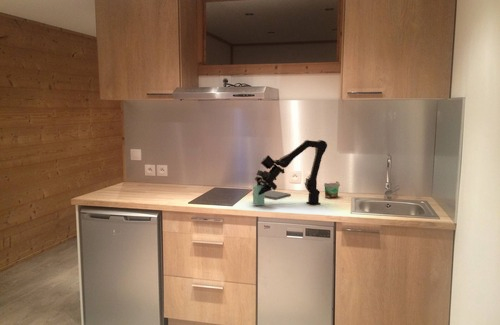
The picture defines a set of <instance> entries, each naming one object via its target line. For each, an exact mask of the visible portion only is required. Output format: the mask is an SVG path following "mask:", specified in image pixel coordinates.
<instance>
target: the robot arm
mask: <svg viewBox="0 0 500 325" xmlns="http://www.w3.org/2000/svg"><path fill="white" fill-rule="evenodd" d="M310 147H311V148H314V150H315V152H314V153H315V154H314V159H313V162H312V166H311V169H310V170H311V171H310V175H309V176H308V177H307V178H305V182H304V187H305V189H306V191H307V192H308V201H306V204H309V205H311V206H313V205H314V206H315V205H321V202H319V201H320V193H321V191H320V190H319V189H318V188H317V187H318V186H317V185H318V182H317V180H318V174H319V170H320V167H321V166H320V165H321V161H322V158H323V155H324V154H325V153H326V150H327V149H328V143H327V142H326V141H325V140H323V139H319V140H308V139H306V140H304V141H303V142H302V143H301V144H300V145H298V146H297V147H296V148H295V149H293V150H292V151H290V152H289V153H287V154H285V155H283V156H281V157H280V158H279V159H275V160H274V159H273V158H271V156H270V155H268V154H267V156H265V157H264V158H263V159H262V160H261V161H260V164H261V165H262V166H263V167H265V169H267V170H269V171H267V170H259V169H257V173H256V177H255V178H254V180H255V181H256V186H258V185H261V186H263V187H262V189H261V190H260V192H259V193H258V194H259V195H261V194H263V193H265V192H267V191H270V190H272V191H277V188H278V186H277V184H276V183H275V181H277V177H278V176H279V175H280V174H284V173H285V172H286V171H285V169H286V168H288V166H289V165H290V164H291V163H292V162H293V160H294V159H295V158H296V157H298V156H299V155H300V154H301V153H303V152H304V151H306V150H307V149H308V148H310Z"/></svg>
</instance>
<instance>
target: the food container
mask: <svg viewBox="0 0 500 325" xmlns="http://www.w3.org/2000/svg"><path fill="white" fill-rule="evenodd" d="M340 186H341V184H340V182H339V181H335V182H329V183H327V182H324V184H323V187H324V198H325V199H337V198H338V197H339V187H340Z"/></svg>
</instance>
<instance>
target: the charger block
mask: <svg viewBox="0 0 500 325" xmlns="http://www.w3.org/2000/svg"><path fill="white" fill-rule="evenodd" d="M252 187H253V188H252V191H253V192H252V203H253V205H255V206H257V207H258V206H265V198H264V193H263V194H261V195H259V194H258V193H259V192H260V190H261V189H262V187H263V186H261V185H258V186H257V185H253V186H252Z"/></svg>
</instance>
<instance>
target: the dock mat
mask: <svg viewBox="0 0 500 325" xmlns="http://www.w3.org/2000/svg"><path fill="white" fill-rule="evenodd" d="M291 196H292V195H291V193H288V192H283V191H277V190H273V189H272V190H270V191H267V192H265V193H264V199H269V200H270V199H271V200H274V201H277V200H281V199H284V198H288V197H291Z"/></svg>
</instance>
